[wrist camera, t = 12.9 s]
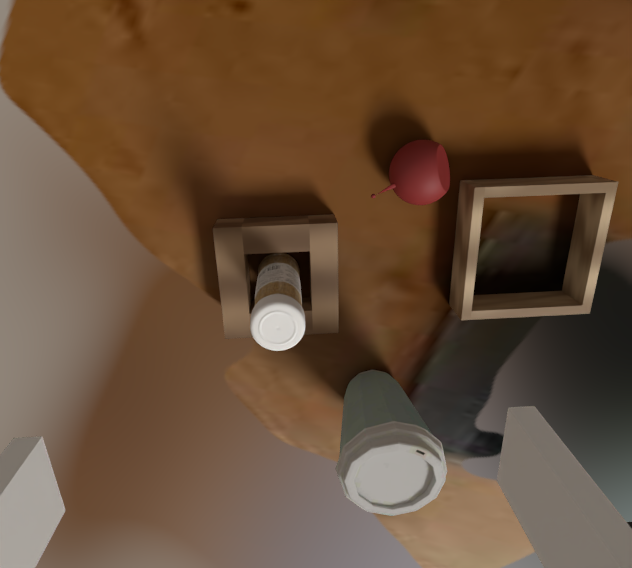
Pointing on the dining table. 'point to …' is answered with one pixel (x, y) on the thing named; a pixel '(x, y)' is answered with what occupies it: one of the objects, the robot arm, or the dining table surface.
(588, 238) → the open square frame
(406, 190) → the fruit
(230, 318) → the collar block
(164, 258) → the dining table surface
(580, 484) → the robot arm
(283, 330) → the sprinkles bottle
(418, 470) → the disposable coffee cup
